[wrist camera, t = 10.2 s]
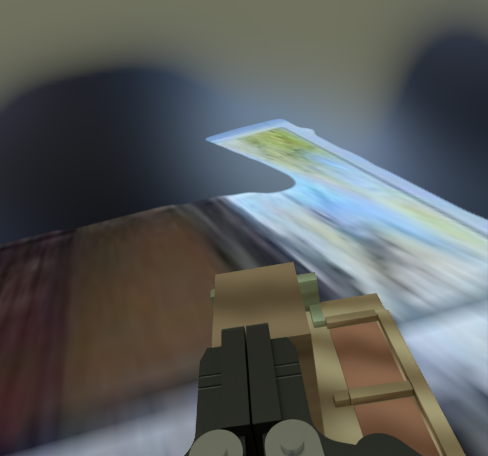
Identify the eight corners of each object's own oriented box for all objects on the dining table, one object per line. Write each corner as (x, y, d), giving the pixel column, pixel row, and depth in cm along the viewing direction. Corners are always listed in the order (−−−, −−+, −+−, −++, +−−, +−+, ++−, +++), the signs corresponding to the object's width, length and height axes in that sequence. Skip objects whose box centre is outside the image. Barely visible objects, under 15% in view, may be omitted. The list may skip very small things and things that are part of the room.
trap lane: (523, 588, 25) (535, 540, 22) (214, 628, 25) (195, 586, 23) (376, 299, 49) (374, 262, 46) (220, 324, 50) (211, 289, 47)
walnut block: (329, 468, 32) (310, 333, 26) (248, 480, 32) (211, 348, 26) (310, 383, 39) (293, 261, 33) (244, 393, 39) (215, 274, 33)
